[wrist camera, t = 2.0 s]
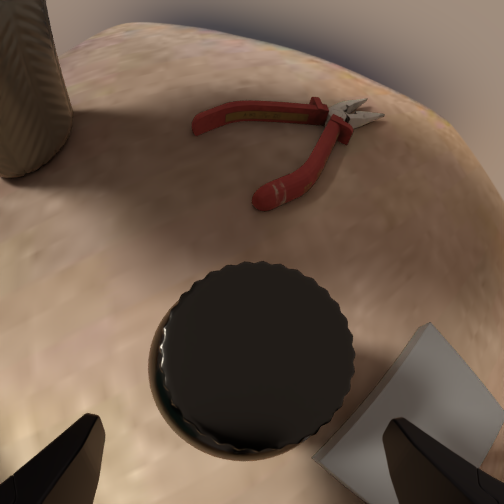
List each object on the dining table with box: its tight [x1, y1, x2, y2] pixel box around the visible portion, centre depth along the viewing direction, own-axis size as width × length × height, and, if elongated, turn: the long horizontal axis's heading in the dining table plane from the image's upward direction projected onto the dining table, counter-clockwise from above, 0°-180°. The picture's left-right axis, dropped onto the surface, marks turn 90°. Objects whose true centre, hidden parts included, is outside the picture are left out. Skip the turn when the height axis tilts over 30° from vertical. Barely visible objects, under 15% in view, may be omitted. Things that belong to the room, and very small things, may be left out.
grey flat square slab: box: [312, 322, 504, 504], centre depth 16 cm, size 12×12×2 cm
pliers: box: [192, 97, 384, 211], centre depth 28 cm, size 12×20×3 cm, turn 125°
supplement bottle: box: [148, 261, 355, 461], centre depth 12 cm, size 7×7×12 cm
